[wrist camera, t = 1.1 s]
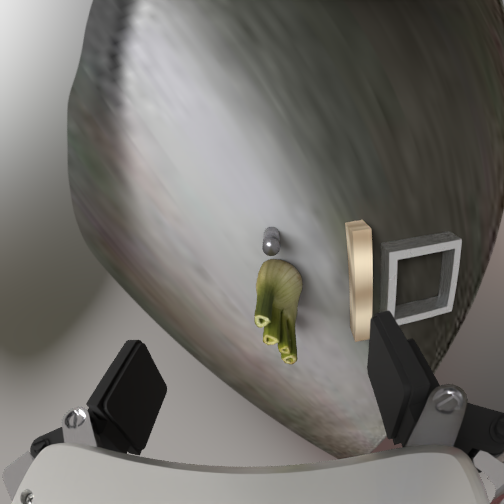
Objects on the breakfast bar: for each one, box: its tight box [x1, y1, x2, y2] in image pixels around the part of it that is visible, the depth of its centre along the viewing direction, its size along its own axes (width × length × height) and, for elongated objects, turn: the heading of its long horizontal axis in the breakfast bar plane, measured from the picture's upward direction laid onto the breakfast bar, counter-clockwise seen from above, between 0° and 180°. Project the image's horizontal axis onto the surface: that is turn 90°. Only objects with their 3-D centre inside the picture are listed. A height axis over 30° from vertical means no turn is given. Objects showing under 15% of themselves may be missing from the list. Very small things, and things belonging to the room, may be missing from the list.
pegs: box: [263, 227, 280, 256], centre depth 30 cm, size 12×2×4 cm, turn 11°
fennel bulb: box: [254, 259, 303, 364], centre depth 26 cm, size 6×5×12 cm
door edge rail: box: [345, 220, 373, 342], centre depth 30 cm, size 14×2×3 cm, turn 11°
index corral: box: [379, 231, 462, 325], centre depth 29 cm, size 10×10×3 cm
